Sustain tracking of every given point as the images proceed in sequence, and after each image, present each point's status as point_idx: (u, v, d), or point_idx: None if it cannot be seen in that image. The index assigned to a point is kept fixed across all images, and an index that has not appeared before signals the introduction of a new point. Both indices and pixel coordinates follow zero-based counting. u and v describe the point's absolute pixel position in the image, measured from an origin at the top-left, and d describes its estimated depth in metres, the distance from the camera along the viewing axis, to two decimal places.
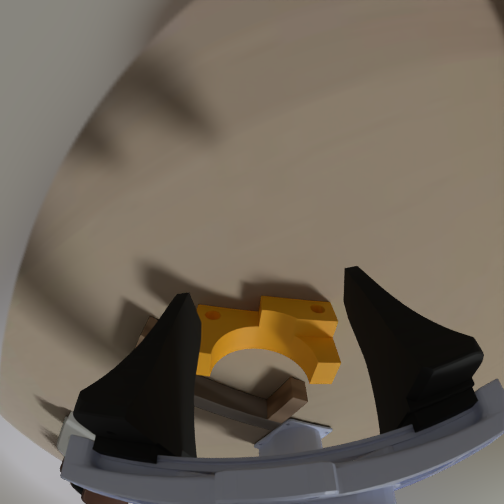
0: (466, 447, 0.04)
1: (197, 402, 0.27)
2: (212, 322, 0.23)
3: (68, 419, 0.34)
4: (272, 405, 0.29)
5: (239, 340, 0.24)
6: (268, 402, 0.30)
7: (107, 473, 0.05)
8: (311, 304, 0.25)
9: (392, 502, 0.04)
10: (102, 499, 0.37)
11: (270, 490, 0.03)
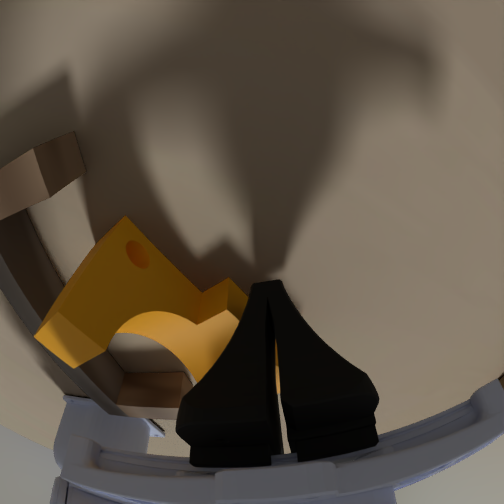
0: (466, 448, 0.04)
1: (35, 328, 0.12)
2: (131, 270, 0.11)
3: None
4: (133, 390, 0.17)
5: (151, 325, 0.12)
6: (127, 380, 0.18)
7: (107, 473, 0.05)
8: None
9: (392, 502, 0.04)
10: None
11: (270, 490, 0.03)
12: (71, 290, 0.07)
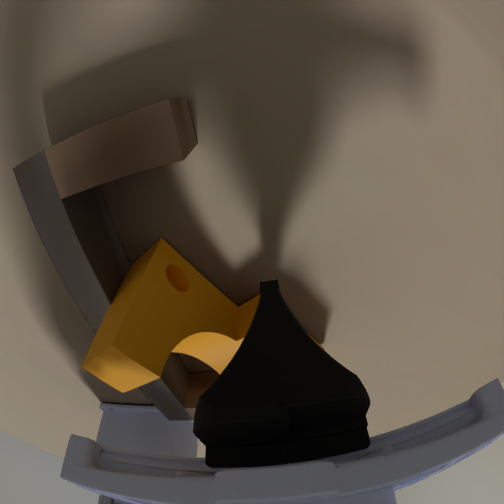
0: (466, 447, 0.04)
1: None
2: (174, 295, 0.11)
3: None
4: (202, 390, 0.17)
5: (193, 344, 0.13)
6: (192, 380, 0.18)
7: (107, 473, 0.05)
8: None
9: (392, 502, 0.04)
10: None
11: (270, 490, 0.03)
12: (122, 322, 0.08)
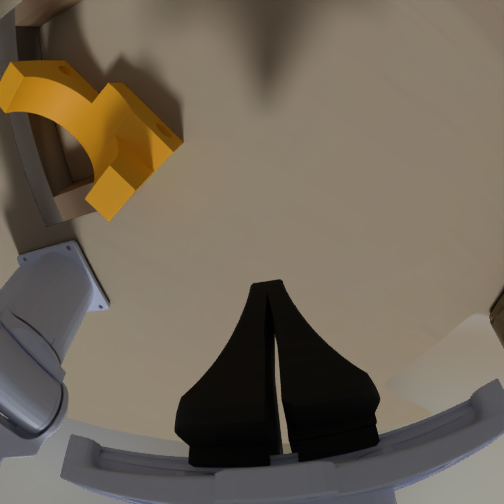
0: (466, 448, 0.04)
1: None
2: (58, 71, 0.12)
3: None
4: (73, 185, 0.17)
5: (63, 107, 0.13)
6: (72, 184, 0.18)
7: (107, 473, 0.05)
8: (162, 124, 0.17)
9: (392, 502, 0.04)
10: None
11: (270, 490, 0.03)
12: (20, 61, 0.09)
